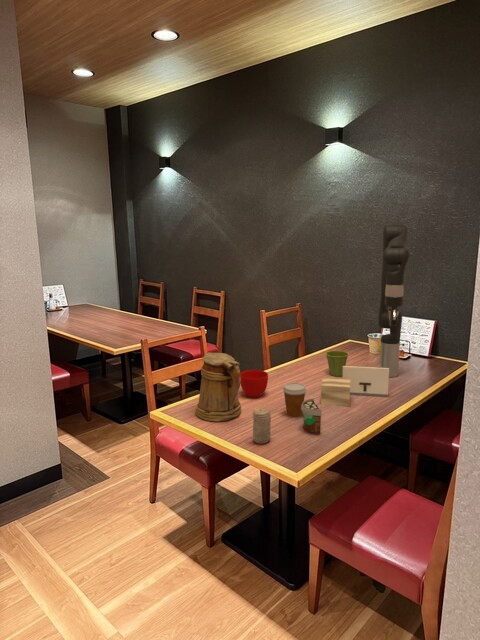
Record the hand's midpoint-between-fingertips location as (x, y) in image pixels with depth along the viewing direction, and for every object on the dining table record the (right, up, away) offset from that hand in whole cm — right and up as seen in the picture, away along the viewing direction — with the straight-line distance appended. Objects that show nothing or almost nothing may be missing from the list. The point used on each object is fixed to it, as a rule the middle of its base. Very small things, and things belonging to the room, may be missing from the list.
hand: (392, 333), depth 202 cm
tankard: (-74, -33, -13) cm, 83 cm away
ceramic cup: (-60, -28, +10) cm, 67 cm away
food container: (-41, -36, -27) cm, 61 cm away
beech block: (-25, -30, -1) cm, 39 cm away
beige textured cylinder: (-59, -38, -36) cm, 79 cm away
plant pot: (-17, -22, +35) cm, 45 cm away
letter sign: (-10, -28, +8) cm, 31 cm away
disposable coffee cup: (-45, -33, -13) cm, 57 cm away
